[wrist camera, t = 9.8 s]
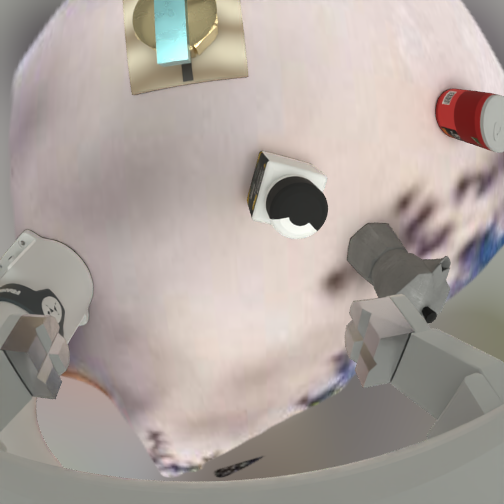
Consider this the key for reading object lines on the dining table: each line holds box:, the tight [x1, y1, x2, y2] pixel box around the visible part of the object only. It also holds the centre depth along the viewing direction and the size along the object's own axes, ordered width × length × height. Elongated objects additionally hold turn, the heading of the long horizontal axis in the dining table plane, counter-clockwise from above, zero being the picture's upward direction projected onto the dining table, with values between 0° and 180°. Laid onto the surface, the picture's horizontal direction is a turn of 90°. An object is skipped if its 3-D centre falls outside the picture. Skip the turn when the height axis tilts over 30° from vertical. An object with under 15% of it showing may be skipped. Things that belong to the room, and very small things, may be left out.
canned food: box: [436, 89, 504, 153], centre depth 33 cm, size 8×8×11 cm
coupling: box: [132, 0, 218, 67], centre depth 24 cm, size 8×11×10 cm
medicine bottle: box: [247, 151, 328, 239], centre depth 36 cm, size 7×7×12 cm
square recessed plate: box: [123, 0, 248, 95], centre depth 28 cm, size 14×14×6 cm
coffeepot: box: [347, 223, 451, 324], centre depth 40 cm, size 15×9×18 cm, turn 156°
